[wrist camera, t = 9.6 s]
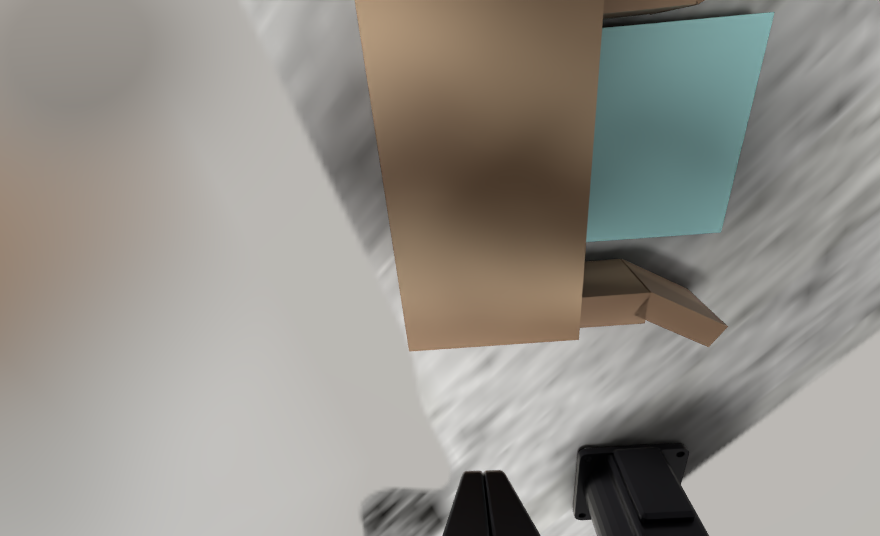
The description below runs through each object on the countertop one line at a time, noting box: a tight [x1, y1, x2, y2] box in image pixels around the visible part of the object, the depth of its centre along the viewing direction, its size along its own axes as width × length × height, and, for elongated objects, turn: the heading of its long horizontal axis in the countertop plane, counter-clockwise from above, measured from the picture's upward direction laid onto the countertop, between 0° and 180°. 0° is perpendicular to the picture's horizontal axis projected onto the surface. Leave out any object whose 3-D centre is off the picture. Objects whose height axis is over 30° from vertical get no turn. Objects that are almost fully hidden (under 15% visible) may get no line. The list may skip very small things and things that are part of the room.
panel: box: [586, 12, 775, 242], centre depth 17 cm, size 8×12×2 cm, turn 95°
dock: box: [355, 0, 728, 351], centre depth 16 cm, size 16×14×4 cm
